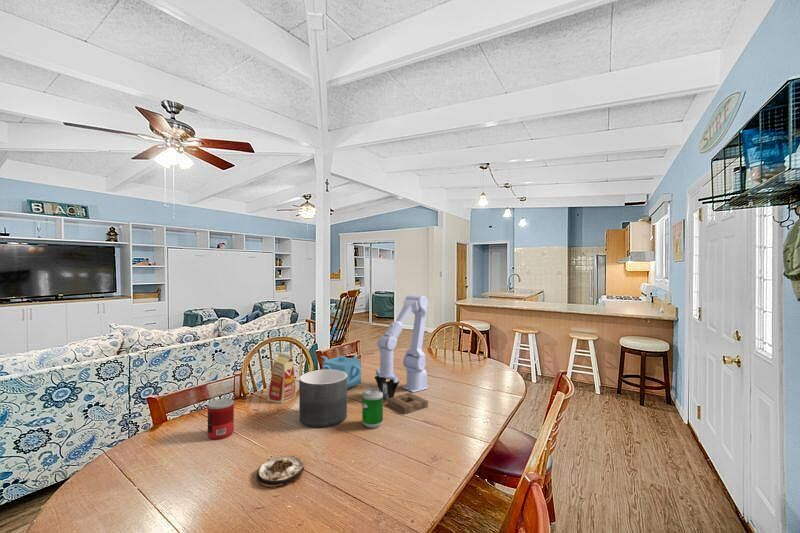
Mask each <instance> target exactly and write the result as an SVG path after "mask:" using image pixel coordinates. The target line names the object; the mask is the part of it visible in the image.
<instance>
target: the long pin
mask: <svg viewBox="0 0 800 533" xmlns="http://www.w3.org/2000/svg"><path fill="white" fill-rule="evenodd" d="M386 382H387V381H386ZM386 382H383V392H382V393H383V402H384V401H385V402H388V398H389V394H388V387H387V384H386Z"/></svg>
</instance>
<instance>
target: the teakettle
mask: <svg viewBox="0 0 800 533" xmlns="http://www.w3.org/2000/svg"><path fill="white" fill-rule="evenodd" d="M320 356H321V358H322V359H323V361H322V362H321V363H322V368H321V370H338V371H342V372H345V373H346V374H347V390H348V389H350V388H351V387H353V388H355V386H356V385H359V384H361V383H362V360H361V359H358V358H359V356H360V355H359V354H355V355H353V357H352V358H351V357H346V355H338V356H336V357H332V358H329V359H328V357H327V356H325V355H320Z"/></svg>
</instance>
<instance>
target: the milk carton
mask: <svg viewBox="0 0 800 533" xmlns="http://www.w3.org/2000/svg"><path fill="white" fill-rule="evenodd" d="M277 353H278V355H277V356H276V358H275V359H274V361H273V366H272V369H271V375H270V381H269V387H268V394H267V400H266V401H267V402H271V403H279V404H284V403H286V402H290V401H293V400H294V399H295V397H296V396H297V392H296V391H297V390H296V389H297V387H296V377H295V376H296V375H295V367H294V366H295V364H294V360H293V358H294V356H290V355H286V354H285V353H282V352H280V351H278V352H277Z"/></svg>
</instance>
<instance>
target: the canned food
mask: <svg viewBox="0 0 800 533" xmlns="http://www.w3.org/2000/svg"><path fill="white" fill-rule="evenodd" d="M234 403H235V402H234V399H232V398H219V399H215V400H212V401H210V402H208V404H207V437H208V439H209V440H212V441H213V440H214V441H217V440H223V439H226V438H229V437H230V436H232V435H233V433H234V428H235V427H234V426H235V424H234V423H235V420H234V418H235V417H234V416H235V414H234V413H235V404H234Z"/></svg>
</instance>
